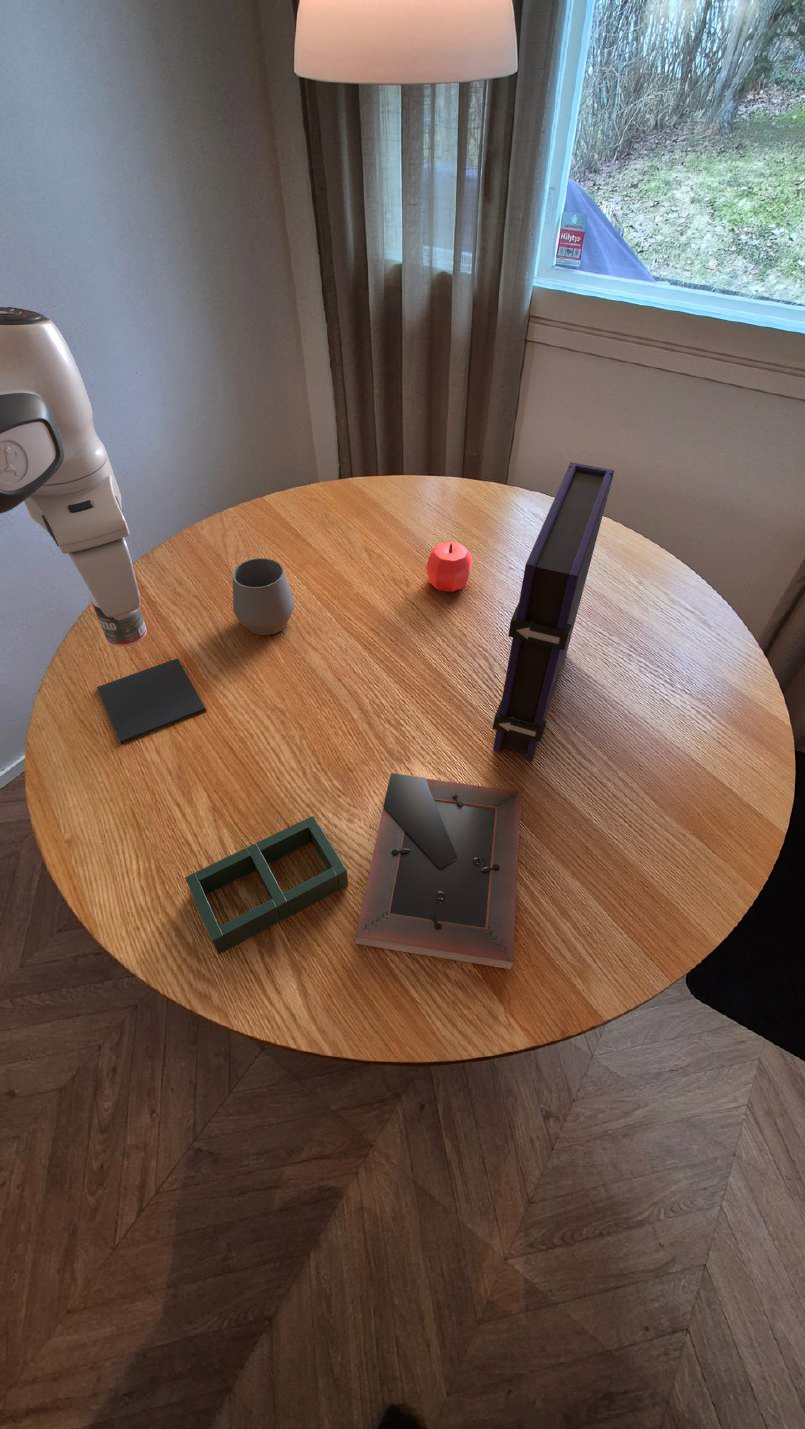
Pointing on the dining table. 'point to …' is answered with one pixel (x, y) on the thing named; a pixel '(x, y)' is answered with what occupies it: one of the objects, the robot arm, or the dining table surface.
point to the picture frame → (444, 872)
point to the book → (549, 606)
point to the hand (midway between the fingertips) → (114, 600)
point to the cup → (262, 596)
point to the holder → (267, 883)
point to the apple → (449, 566)
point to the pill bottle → (121, 627)
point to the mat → (150, 700)
